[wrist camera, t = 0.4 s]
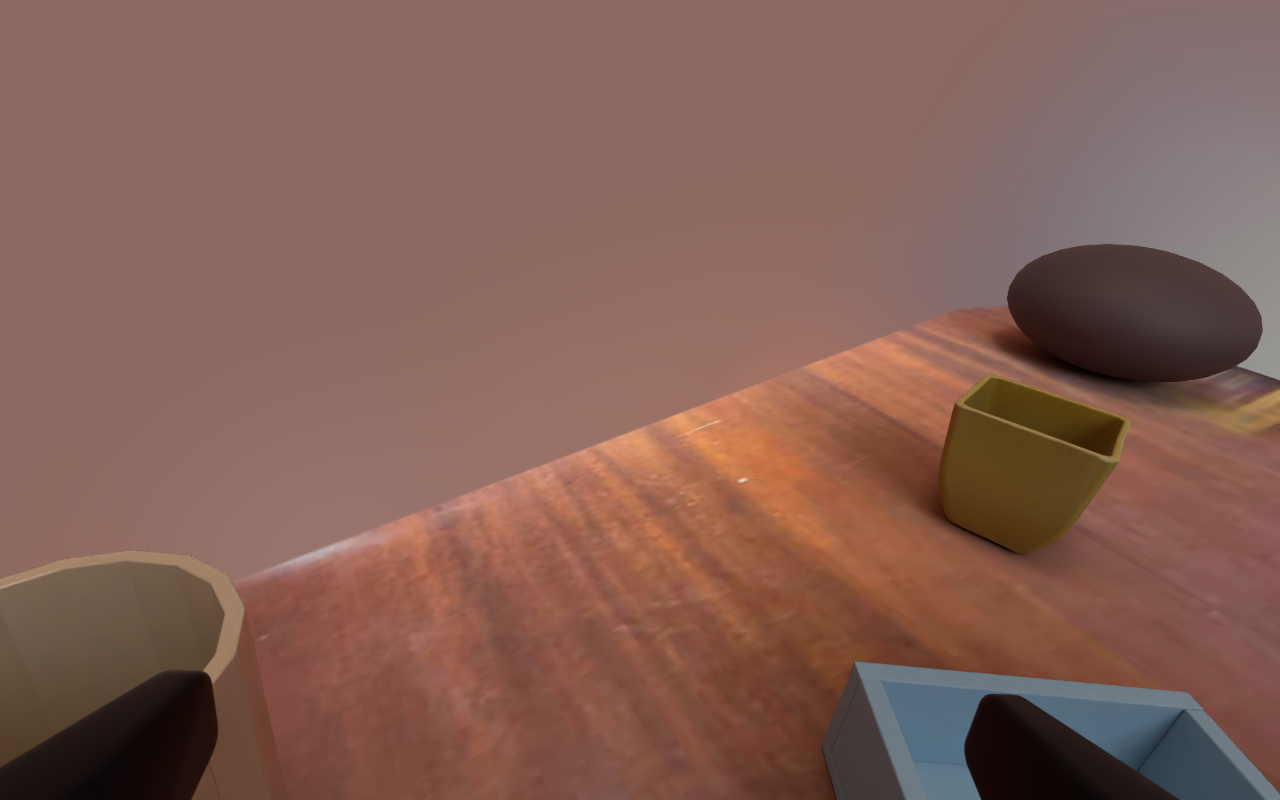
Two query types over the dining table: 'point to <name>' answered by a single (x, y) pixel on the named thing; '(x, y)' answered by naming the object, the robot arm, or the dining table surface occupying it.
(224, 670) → the tumbler
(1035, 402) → the flower pot
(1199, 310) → the smooth stone
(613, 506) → the dining table surface
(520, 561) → the dining table surface
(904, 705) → the tub
